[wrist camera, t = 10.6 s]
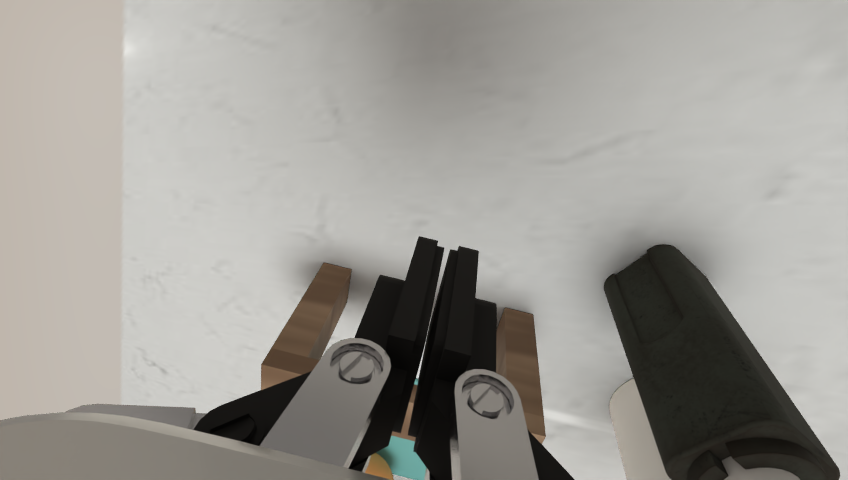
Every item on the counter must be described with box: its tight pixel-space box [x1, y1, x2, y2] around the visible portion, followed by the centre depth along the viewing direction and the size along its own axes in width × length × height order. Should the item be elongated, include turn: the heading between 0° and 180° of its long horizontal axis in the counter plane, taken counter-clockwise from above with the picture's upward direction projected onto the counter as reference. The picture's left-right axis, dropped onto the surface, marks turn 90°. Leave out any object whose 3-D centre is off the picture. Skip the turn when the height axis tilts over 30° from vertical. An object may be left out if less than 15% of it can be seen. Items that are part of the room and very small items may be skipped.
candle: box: [604, 245, 840, 480], centre depth 18 cm, size 5×5×25 cm
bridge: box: [261, 263, 546, 444], centre depth 28 cm, size 3×15×10 cm, turn 79°
